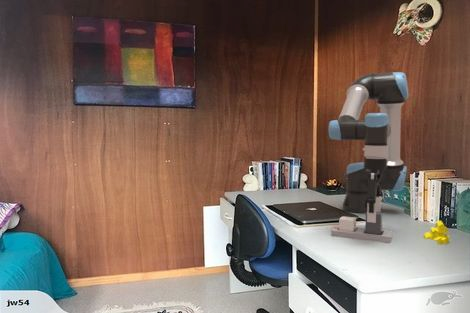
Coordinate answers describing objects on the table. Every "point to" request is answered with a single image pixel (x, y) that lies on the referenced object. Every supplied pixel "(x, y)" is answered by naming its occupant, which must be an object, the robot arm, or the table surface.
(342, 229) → the block
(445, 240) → the yellow lumpy cluster
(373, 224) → the block
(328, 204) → the table surface
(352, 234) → the power strip
